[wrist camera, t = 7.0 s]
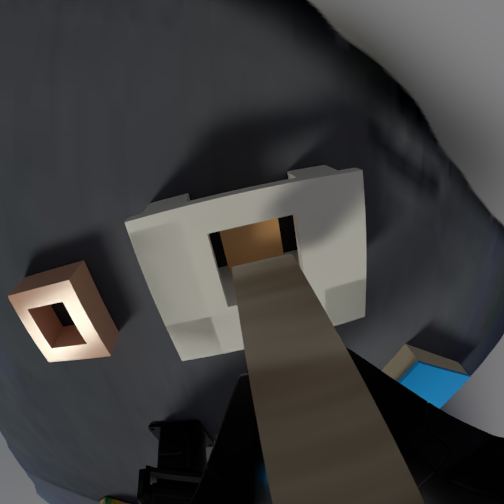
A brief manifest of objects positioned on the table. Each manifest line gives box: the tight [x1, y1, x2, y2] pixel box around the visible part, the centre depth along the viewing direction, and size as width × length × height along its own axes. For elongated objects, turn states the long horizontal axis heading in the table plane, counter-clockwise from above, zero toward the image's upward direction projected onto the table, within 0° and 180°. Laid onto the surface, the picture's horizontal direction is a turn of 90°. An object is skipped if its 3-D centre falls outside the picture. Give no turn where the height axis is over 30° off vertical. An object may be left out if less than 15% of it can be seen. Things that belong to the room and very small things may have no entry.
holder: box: [8, 260, 119, 362], centre depth 19 cm, size 7×7×3 cm
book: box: [381, 344, 470, 409], centre depth 33 cm, size 17×4×25 cm
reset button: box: [219, 218, 284, 271], centre depth 19 cm, size 4×4×2 cm
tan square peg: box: [232, 253, 425, 504], centre depth 8 cm, size 3×3×12 cm
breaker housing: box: [125, 165, 366, 361], centre depth 18 cm, size 9×12×6 cm
